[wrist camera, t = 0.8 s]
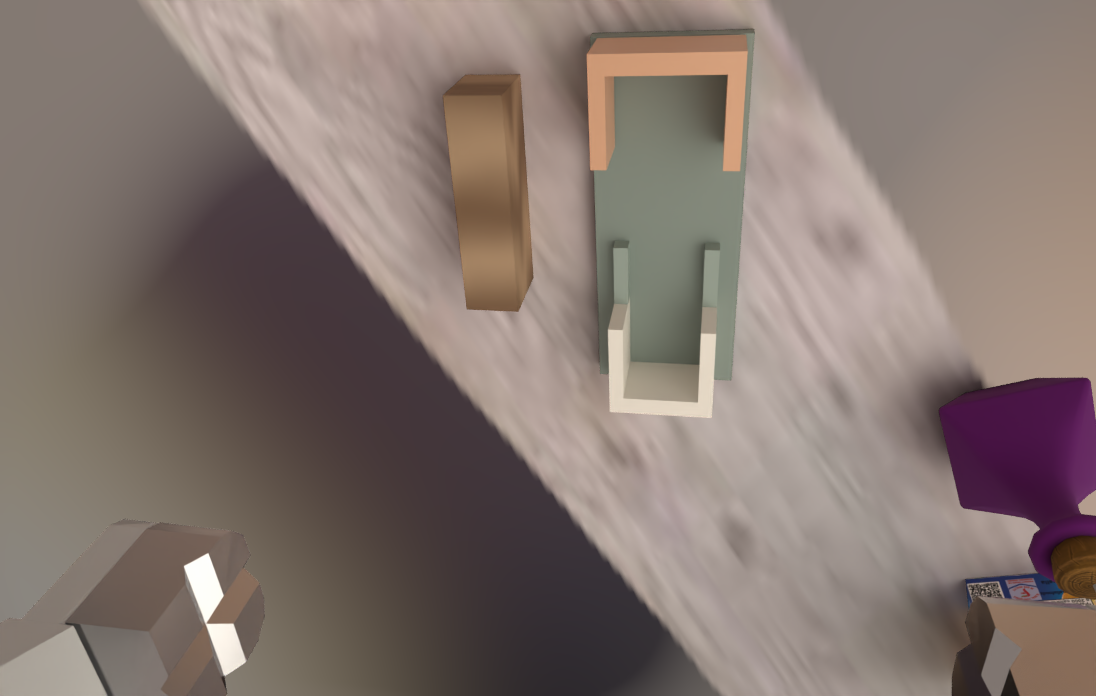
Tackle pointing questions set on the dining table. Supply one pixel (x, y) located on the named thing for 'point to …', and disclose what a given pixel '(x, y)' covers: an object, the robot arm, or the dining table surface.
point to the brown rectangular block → (490, 189)
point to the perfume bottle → (1032, 468)
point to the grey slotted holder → (669, 240)
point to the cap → (664, 61)
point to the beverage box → (1021, 589)
